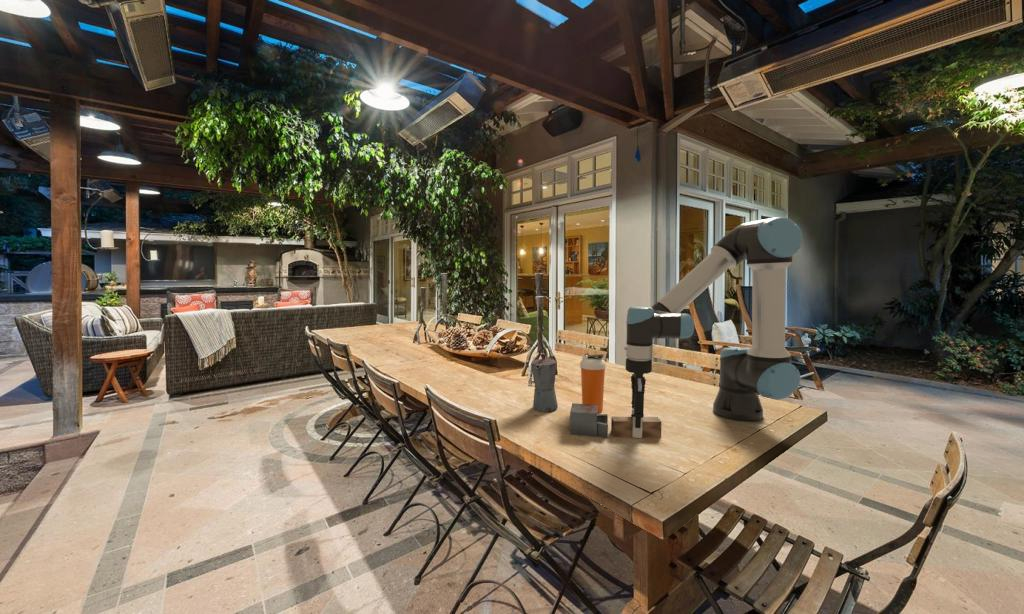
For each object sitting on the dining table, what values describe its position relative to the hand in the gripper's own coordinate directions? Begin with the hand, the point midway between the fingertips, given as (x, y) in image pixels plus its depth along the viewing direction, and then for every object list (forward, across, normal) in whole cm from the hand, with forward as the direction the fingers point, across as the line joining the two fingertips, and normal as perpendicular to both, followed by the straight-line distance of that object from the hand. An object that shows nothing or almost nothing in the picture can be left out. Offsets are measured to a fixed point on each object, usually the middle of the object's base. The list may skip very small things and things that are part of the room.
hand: (636, 433), depth 123 cm
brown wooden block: (0, 0, 0) cm, 0 cm away
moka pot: (+1, -19, -31) cm, 36 cm away
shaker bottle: (+1, -20, -14) cm, 24 cm away
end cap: (0, 0, -14) cm, 14 cm away
